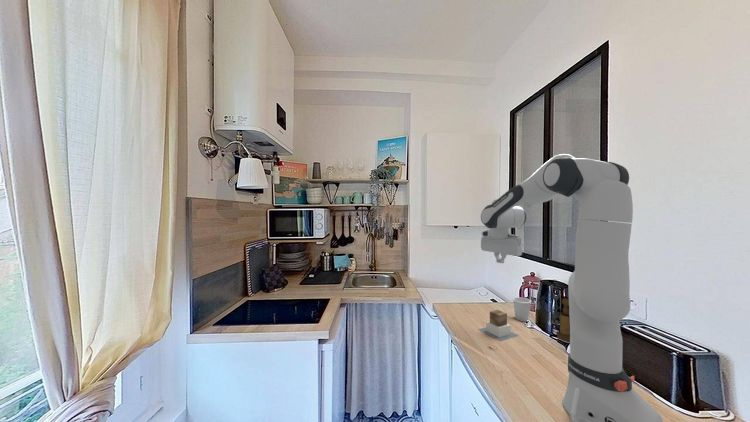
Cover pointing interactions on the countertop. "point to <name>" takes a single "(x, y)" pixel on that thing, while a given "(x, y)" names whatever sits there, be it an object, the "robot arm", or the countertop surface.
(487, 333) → the build plate
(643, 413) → the robot arm
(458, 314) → the countertop surface
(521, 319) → the dixie cup
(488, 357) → the countertop surface
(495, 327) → the base brick
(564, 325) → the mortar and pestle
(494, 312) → the walnut brick
